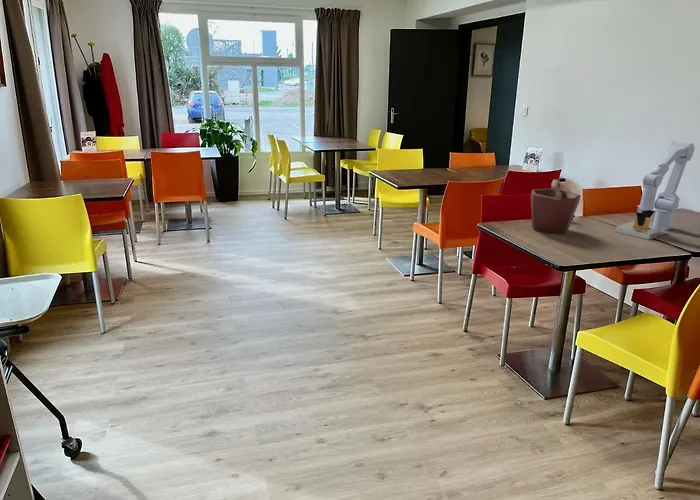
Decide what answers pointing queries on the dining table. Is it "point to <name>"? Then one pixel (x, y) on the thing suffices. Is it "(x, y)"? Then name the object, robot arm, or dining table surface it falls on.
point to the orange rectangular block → (645, 225)
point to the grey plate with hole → (641, 230)
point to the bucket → (553, 209)
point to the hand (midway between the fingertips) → (642, 224)
